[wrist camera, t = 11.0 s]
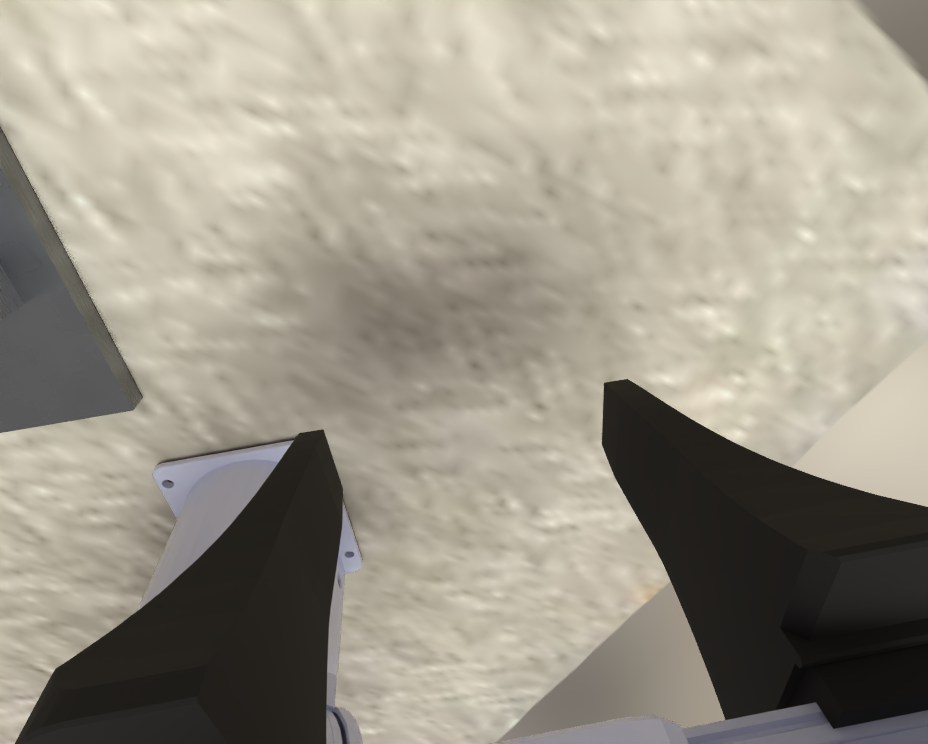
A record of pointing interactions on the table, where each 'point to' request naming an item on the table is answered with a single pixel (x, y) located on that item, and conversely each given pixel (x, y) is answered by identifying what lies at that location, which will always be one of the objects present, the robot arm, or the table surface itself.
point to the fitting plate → (48, 322)
